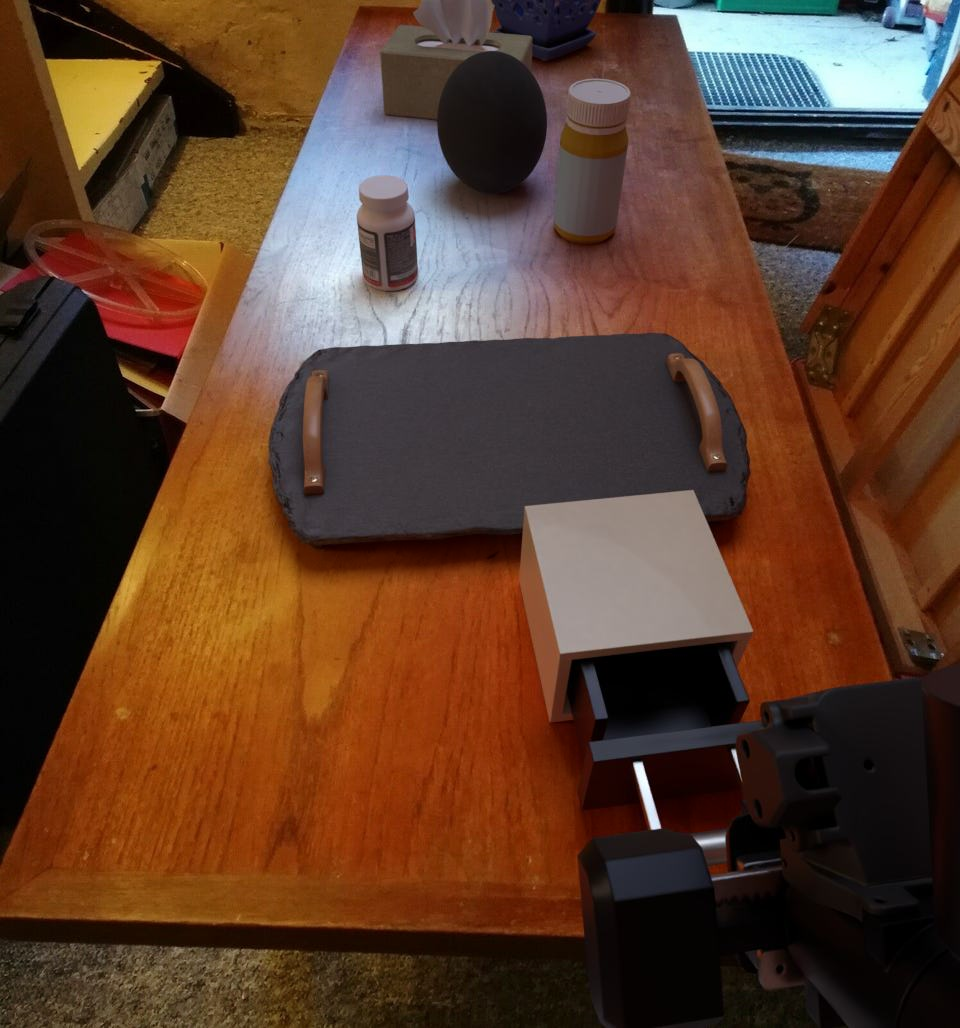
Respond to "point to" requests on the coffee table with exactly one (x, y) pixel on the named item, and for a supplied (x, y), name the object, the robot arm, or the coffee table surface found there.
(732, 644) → the grey drawer unit
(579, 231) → the bottle
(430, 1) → the tissue box
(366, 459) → the serving tray
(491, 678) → the coffee table surface
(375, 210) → the pill bottle
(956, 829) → the robot arm
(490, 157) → the decorative egg
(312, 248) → the coffee table surface
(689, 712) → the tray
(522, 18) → the flower pot
